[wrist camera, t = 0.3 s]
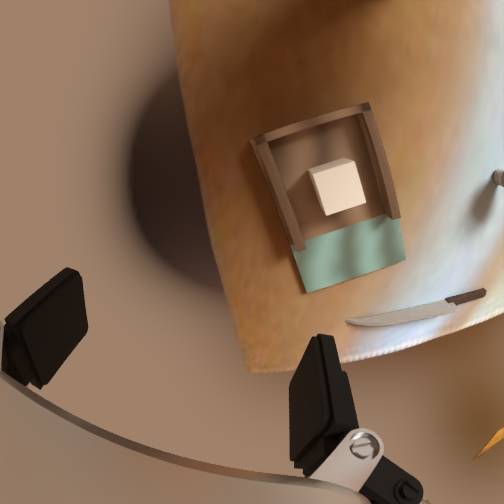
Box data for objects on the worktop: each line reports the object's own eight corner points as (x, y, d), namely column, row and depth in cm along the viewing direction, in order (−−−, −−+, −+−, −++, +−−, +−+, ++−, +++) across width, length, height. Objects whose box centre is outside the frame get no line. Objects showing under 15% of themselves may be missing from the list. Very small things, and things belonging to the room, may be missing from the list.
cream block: (343, 157, 33) (354, 161, 28) (354, 193, 35) (366, 202, 30) (307, 169, 34) (312, 174, 29) (319, 205, 36) (326, 215, 31)
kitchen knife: (492, 296, 36) (348, 333, 40) (491, 301, 37) (348, 338, 40) (481, 285, 40) (343, 317, 44) (479, 290, 41) (343, 322, 44)
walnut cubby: (364, 104, 31) (374, 100, 27) (403, 256, 38) (413, 268, 35) (250, 140, 34) (247, 140, 30) (306, 289, 42) (308, 304, 38)
